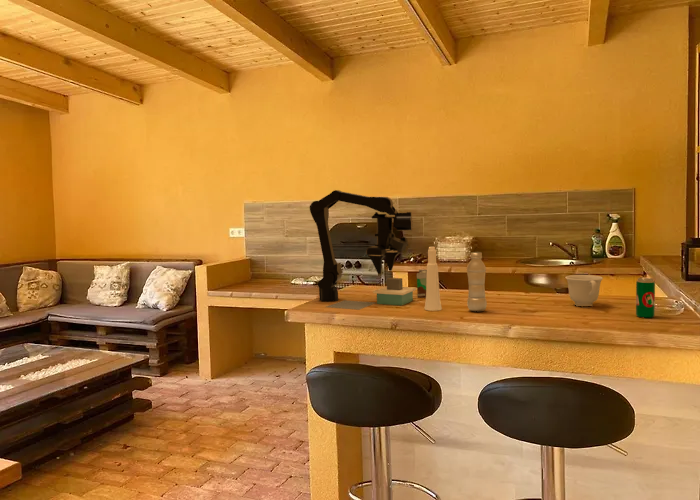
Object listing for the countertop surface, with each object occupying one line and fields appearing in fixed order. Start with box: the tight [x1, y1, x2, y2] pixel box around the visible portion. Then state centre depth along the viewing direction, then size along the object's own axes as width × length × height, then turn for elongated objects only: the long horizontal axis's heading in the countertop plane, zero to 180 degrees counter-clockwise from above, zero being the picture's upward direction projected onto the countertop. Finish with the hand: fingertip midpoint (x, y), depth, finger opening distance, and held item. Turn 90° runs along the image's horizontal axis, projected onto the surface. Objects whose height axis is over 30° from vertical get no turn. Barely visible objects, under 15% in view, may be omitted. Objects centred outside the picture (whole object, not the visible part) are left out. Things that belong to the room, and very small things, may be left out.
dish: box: [376, 291, 414, 306], centre depth 197 cm, size 10×10×5 cm
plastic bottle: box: [466, 251, 488, 312], centre depth 180 cm, size 6×7×20 cm
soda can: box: [635, 277, 656, 319], centre depth 163 cm, size 5×5×12 cm
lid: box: [372, 277, 417, 295], centre depth 196 cm, size 12×12×5 cm
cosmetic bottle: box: [424, 246, 443, 312], centre depth 185 cm, size 6×6×22 cm
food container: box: [416, 269, 427, 299], centre depth 213 cm, size 12×6×10 cm, turn 168°
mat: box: [326, 300, 377, 311], centre depth 194 cm, size 14×14×1 cm
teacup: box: [564, 274, 604, 307], centre depth 182 cm, size 12×15×10 cm
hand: (384, 272), depth 199 cm, fingers open, 9 cm apart
